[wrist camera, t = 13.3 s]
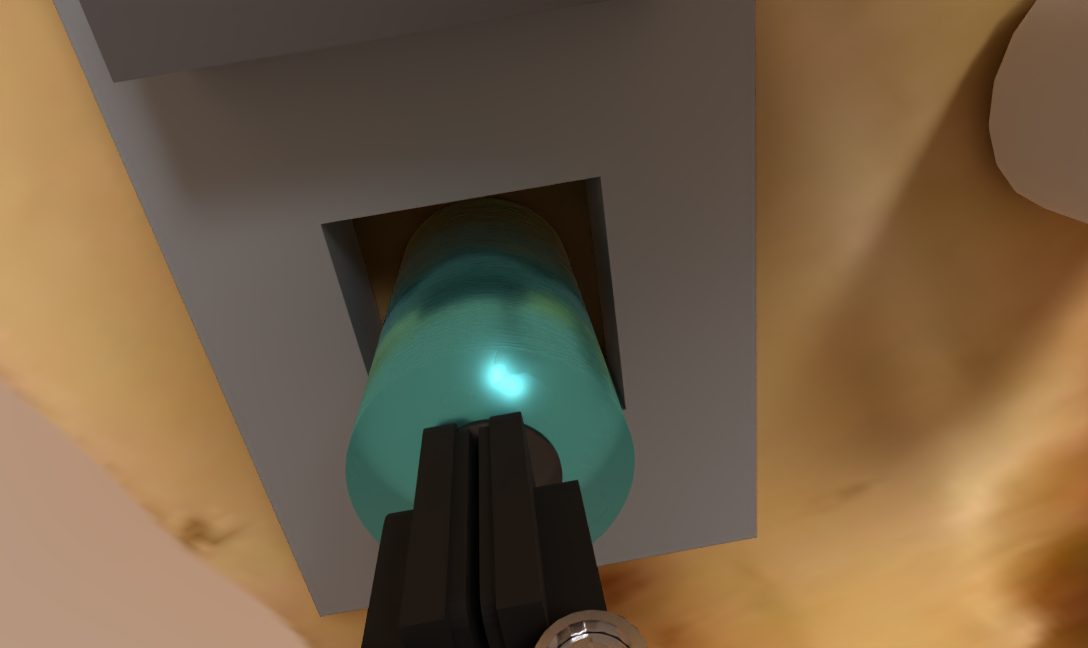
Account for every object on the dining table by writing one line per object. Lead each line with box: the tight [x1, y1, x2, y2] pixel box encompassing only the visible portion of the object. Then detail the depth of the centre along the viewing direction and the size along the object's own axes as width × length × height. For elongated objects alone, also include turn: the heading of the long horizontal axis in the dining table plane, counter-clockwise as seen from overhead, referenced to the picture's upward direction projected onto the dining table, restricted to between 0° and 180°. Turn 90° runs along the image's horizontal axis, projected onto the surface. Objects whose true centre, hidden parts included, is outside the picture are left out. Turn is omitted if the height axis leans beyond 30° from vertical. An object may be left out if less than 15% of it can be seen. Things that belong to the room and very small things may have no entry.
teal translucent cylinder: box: [345, 197, 635, 544], centre depth 15 cm, size 5×5×9 cm
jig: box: [53, 0, 757, 617], centre depth 16 cm, size 22×14×6 cm, turn 9°
